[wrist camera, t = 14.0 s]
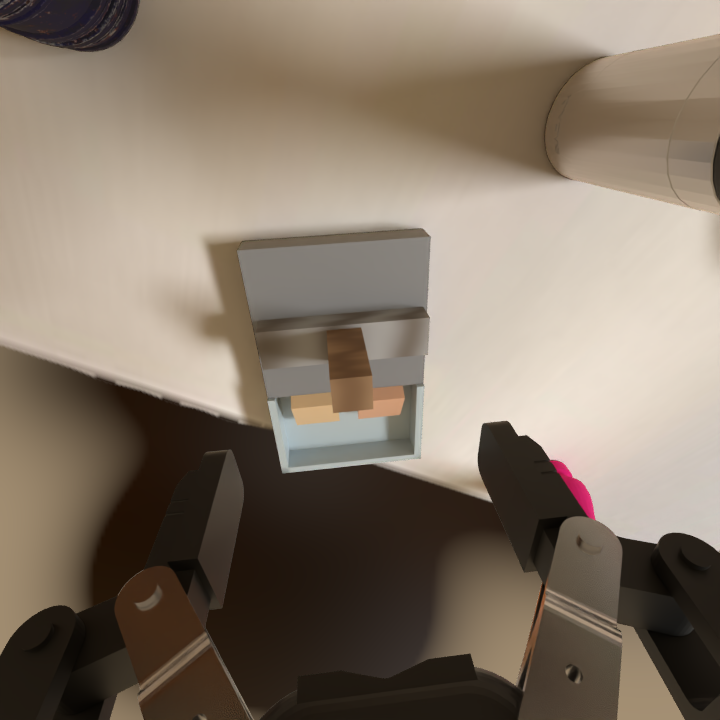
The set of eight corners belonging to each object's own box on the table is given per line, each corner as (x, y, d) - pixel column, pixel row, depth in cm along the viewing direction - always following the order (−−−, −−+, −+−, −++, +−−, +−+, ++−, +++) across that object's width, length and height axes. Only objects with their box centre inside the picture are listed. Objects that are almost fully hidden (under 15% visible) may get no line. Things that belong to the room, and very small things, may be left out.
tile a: (402, 385, 43) (404, 397, 43) (398, 403, 48) (400, 414, 47) (357, 389, 43) (358, 402, 42) (357, 407, 47) (358, 419, 47)
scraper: (423, 306, 39) (456, 363, 30) (421, 342, 41) (452, 405, 32) (258, 320, 38) (241, 383, 29) (265, 356, 40) (251, 425, 31)
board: (422, 228, 38) (430, 236, 35) (417, 368, 46) (423, 383, 44) (242, 241, 37) (236, 250, 34) (270, 382, 45) (267, 398, 42)
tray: (417, 368, 46) (424, 386, 43) (414, 438, 52) (420, 458, 49) (270, 382, 45) (267, 401, 42) (284, 452, 51) (282, 473, 48)
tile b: (337, 391, 43) (338, 404, 42) (338, 409, 47) (339, 420, 46) (290, 396, 43) (291, 408, 42) (296, 413, 47) (297, 425, 46)
